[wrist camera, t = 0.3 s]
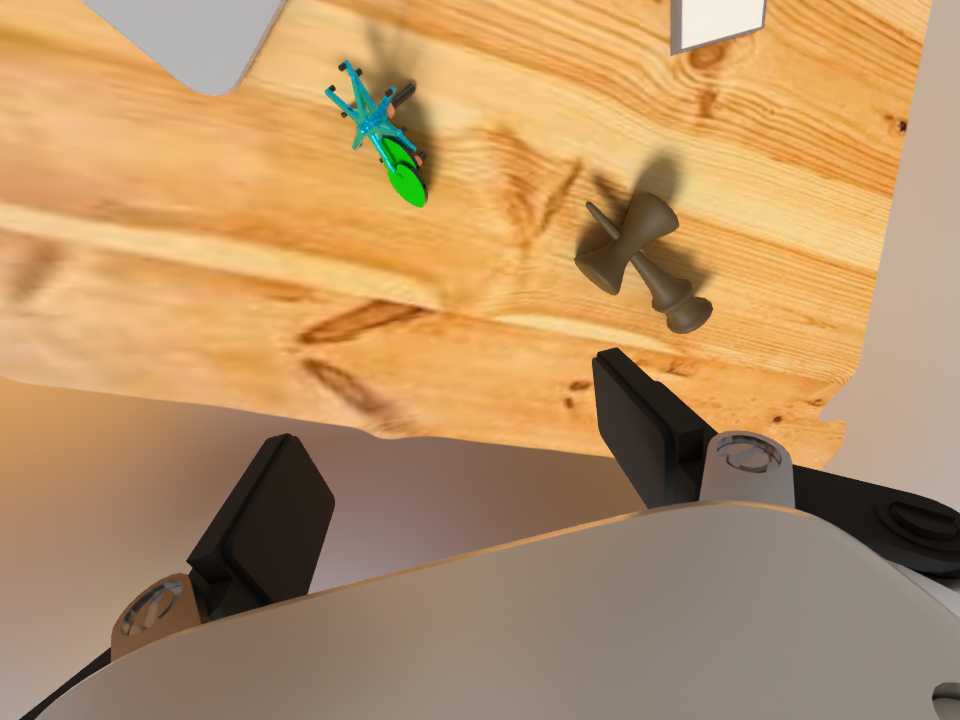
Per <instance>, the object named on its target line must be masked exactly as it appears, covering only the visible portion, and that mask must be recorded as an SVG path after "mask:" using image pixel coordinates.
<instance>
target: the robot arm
mask: <svg viewBox="0 0 960 720" xmlns="http://www.w3.org/2000/svg"><path fill="white" fill-rule="evenodd" d="M592 368H593V378H594V388H595V398H596V408H597V418H598V427H599V431H600V434H601V436H602V438H603V440H604V441H605V443H606V444H607V446H608V448H609V449H610V451H611V452H612V454H613V455H614V457H615V458H616V460H617V461H618V463H619V465H620V466H621V468H622V469H623V471H624V472H625V474H626V475H627V477H628V478H629V480H630V482H631V483H632V485H633V486H634V488H635V489H636V491H637V492H638V494H639V496H640V497H641V499H642V500H643V502H644V503H645V505H646V506H647V508H648V509H647V510H642V511H638V512H634V513H629V514H626V515H621V516H616V517H612V518H608V519H603V520H599V521H595V522H591V523H587V524H582V525H578V526H574V527H570V528H566V529H562V530H558V531H554V532H550V533H546V534H542V535H538V536H534V537H530V538H527V539H522V540H518V541H514V542H510V543H506V544H503V545H498V546H494V547H490V548H486V549H482V550H478V551H474V552H471V553H467V554H463V555H459V556H455V557H451V558H447V559H443V560H440V561H436V562H431V563H428V564H424V565H420V566H416V567H412V568H408V569H404V570H400V571H396V572H393V573H389V574H385V575H381V576H377V577H373V578H370V579H366V580H362V581H358V582H354V583H351V584H347V585H343V586H339V587H335V588H331V589H328V590H324V591H320V592H317V593H312V594H308V595H307V593H308V590H309V587H310V584H311V581H312V578H313V574H314V571H315V568H316V565H317V561H318V558H319V555H320V552H321V549H322V546H323V543H324V539H325V536H326V533H327V529H328V526H329V523H330V520H331V517H332V514H333V511H334V507H335V499H334V496H333V494H332V492H331V491H330V489H329V487H328V486H327V484H326V482H325V481H324V479H323V478H322V476H321V474H320V473H319V471H318V469H317V468H316V466H315V464H314V463H313V461H312V459H311V458H310V457H309V455H308V453H307V451H306V450H305V448H304V446H303V445H302V443H301V442H300V440H299V438H298V437H296V436H292V435H291V434H288V433H286V434H282V435H279V436H274V437H271V438H268V439H267V440H266V441H265V442H264V444H263V445H262V447H261V448H260V450H259V452H258V453H257V454H256V456H255V458H254V459H253V460H252V462H251V463H250V465H249V467H248V468H247V470H246V471H245V473H244V474H243V476H242V477H241V479H240V480H239V482H238V483H237V485H236V486H235V488H234V489H233V491H232V492H231V494H230V496H229V497H228V499H227V500H226V501H225V503H224V504H223V506H222V507H221V509H220V510H219V512H218V514H217V515H216V516H215V518H214V520H213V521H212V523H211V524H210V526H209V527H208V529H207V530H206V532H205V533H204V535H203V536H202V538H201V539H200V541H199V542H198V544H197V545H196V547H195V548H194V550H193V551H192V553H191V554H190V556H189V557H188V559H187V560H186V561H187V563H188V564H190V565H191V566H192V567H193V568H192V570H191V572H190V573H189V575H187V574H183V573H177V574H172V575H169V576H167V577H165V578H162V579H161V580H159V581H157V582H156V583H154V584H153V585H151V586H150V587H148V588H147V589H146V590H144V591H143V592H142V593H141V594H139V595H138V596H137V597H136V598H135V599H134V600H133V601H132V602H131V603H130V604H129V605H128V606H127V608H126V609H125V610H124V611H123V613H122V614H121V615H120V616H119V618H118V620H117V622H116V623H115V625H114V627H113V630H112V635H111V647H110V648H109V649H108V650H106V651H105V652H104V653H103V654H101V655H100V656H99V657H98V658H96V659H95V660H94V661H92V662H91V663H90V664H89V665H87V666H86V667H85V668H84V669H82V670H81V671H80V672H79V673H77V674H76V675H75V676H74V677H72V678H71V679H70V680H69V681H67V682H66V683H65V684H64V685H62V686H61V687H60V688H59V689H57V690H56V691H55V692H53V693H52V694H51V695H50V696H48V697H47V698H46V699H45V700H43V701H42V702H41V703H40V704H38V705H37V706H36V707H34V708H33V709H32V710H31V711H30V712H28V713H27V714H26V715H24V716H23V717H22V718H21V719H19V720H960V513H958V512H957V511H955V510H954V509H952V508H950V507H948V506H946V505H943V504H941V503H939V502H937V501H935V500H932V499H929V498H926V497H923V496H919V495H916V494H912V493H908V492H904V491H900V490H896V489H892V488H888V487H884V486H880V485H876V484H871V483H868V482H863V481H859V480H855V479H851V478H847V477H843V476H839V475H835V474H830V473H826V472H822V471H818V470H814V469H810V468H806V467H802V466H798V465H794V464H792V460H791V457H790V454H789V453H788V452H787V451H786V449H785V448H784V447H783V446H782V445H780V444H779V443H777V442H776V441H774V440H773V439H770V438H768V437H766V436H763V435H761V434H757V433H753V432H749V431H737V430H736V431H726V432H723V433H720V434H718V433H717V432H716V431H715V430H714V429H713V428H712V427H711V426H709V425H708V424H707V423H706V422H705V421H704V420H703V419H702V418H701V417H699V416H698V415H697V414H696V413H695V412H694V411H693V410H692V409H690V408H689V407H688V406H687V405H686V404H685V403H684V402H683V401H681V400H680V399H679V398H678V397H677V396H676V395H675V394H674V393H673V392H671V391H670V390H669V389H668V388H667V387H666V386H665V385H664V384H662V383H661V382H659V381H654V380H652V379H651V378H650V377H649V376H648V375H647V374H646V373H645V372H644V371H643V370H642V369H640V368H639V367H638V366H637V365H636V364H635V363H634V362H633V361H632V360H631V359H630V358H628V357H627V356H626V355H625V354H624V353H623V352H622V351H621V350H620V349H619V348H617V347H616V348H612V349H608V350H604V351H600V352H598V353H597V357H596V358H593V359H592Z"/></svg>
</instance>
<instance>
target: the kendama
mask: <svg viewBox="0 0 960 720" xmlns="http://www.w3.org/2000/svg"><path fill="white" fill-rule="evenodd" d="M586 207H587V208H588V210H589V211H590V212H591V214H592V215H593V216H594V217H595V219H596V220H597V221H598V222H599V223H600V225H601V226H602V227H603V228H604V229H605V231H606V232H607V233H608V234H609V235H610V237H611V238H612V239H611V240H610V241H609V242H608V243H607V244H606V245H605V246H603V247H601V248H599V249H597V250H594V251H591V252H587V253H584V254H581V255H578V256H576V257H575V258H574V261H575V264H576V265H577V267H578V268H579V269H580V270H581V272H582V273H583V274H584V275H585V276H586V277H587V278H589V279H590V280H591V281H592V282H593V283H594V284H596V285H597V286H598V287H599V288H601V289H602V290H604V291H605V292H607V293H609V294H611V295H617V294H618V293H619V291H620V287H621V283H622V278H623V274H624V270H625V267H626V265H627V263H628V262H629V261H631V263H632V264H633V265H634V267H635V268H636V270H637V271H638V273H639V274H640V275H641V277H642V278H643V280H644V282H645V283H646V285H647V286H648V288H649V290H650V292H651V294H652V296H653V300H652V307H653V308H654V309H655V310H656V311H658V312H661V313H665V315H666V316H667V320H666V321H667V326H668V328H669V329H670V330H671V331H672V332H674V333H678V334H686V333H689V332H692V331H694V330H696V329H698V328H699V327H701V326H702V325H703V324H704V323H705V322H706V321H707V320H708V318H709V317H710V316H711V313H712V310H713V307H712V304H711V302H710V301H708V300H707V299H706V298H701V297H694V296H693V294H692V293H691V292H692V285H691V283H690V282H689V281H687V280H685V279H674V278H672V277H671V276H669V275H668V274H667V273H665V272H664V271H663V270H661V269H660V268H659V267H658V266H656V265H655V264H654V263H653V262H652V261H650V260H649V259H648V258H647V257H646V256H645V255H644V254H643V253H642V252H641V251H639V250H640V249H641V248H642V247H643V246H644V245H645V244H646V243H648V242H650V241H652V240H654V239H657V238H659V237H662V236H664V235H667V234H669V233H672V232H673V231H675V230H676V229H677V228H678V227H679V222H678V219H677V216H676V215H675V213H674V211H673V210H672V209H671V208H670V207H669V206H668V205H667V204H666V203H665V202H664V201H663V200H661V199H660V198H659V197H657V196H655V195H653V194H651V193H647V192H637V193H635V194H634V196H633V198H632V200H631V202H630V205H629V209H628V212H627V215H626V218H625V221H624V223H623V225H622V227H621V228H620V230H618V229H617V228H616V227H615V226H614V225H613V223H612V222H611V221H610V220H609V219H608V218H607V217H606V216H605V215H604V214H603V213H602V212H601V211H600V210H599V209H598V208H597V207H596V206H595V205H593V204H592V203H591V202H586Z"/></svg>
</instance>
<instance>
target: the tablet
mask: <svg viewBox="0 0 960 720" xmlns="http://www.w3.org/2000/svg"><path fill="white" fill-rule="evenodd" d="M81 1H82V2H83V3H85V4H86V5H87V6H88V7H90V8H91V9H92V10H93V11H94V12H96V13H97V14H98V15H99V16H101V17H102V18H103V19H104V20H105V21H107V22H108V23H109V24H110V25H111V26H113V27H114V28H115V29H116V30H118V31H119V32H120V33H121V34H122V35H124V36H125V37H126V38H127V39H128V40H130V41H131V42H132V43H133V44H135V45H136V46H137V47H138V48H139V49H141V50H142V51H143V52H144V53H146V54H147V55H148V56H149V57H150V58H152V59H153V60H154V61H155V62H156V63H158V64H159V65H160V66H161V67H163V68H164V69H165V70H166V71H167V72H169V73H170V74H171V75H172V76H173V77H175V78H176V79H177V80H178V81H180V82H181V83H182V84H184V85H185V86H187V87H189V88H191V89H192V90H195V91H197V92H200V93H203V94H206V95H210V96H221V95H226V94H229V93H230V92H232V91H234V90H235V89H236V88H237V87H238V86H239V85H240V83H241V82H242V80H243V78H244V77H245V75H246V73H247V71H248V69H249V68H250V66H251V64H252V62H253V60H254V59H255V57H256V55H257V53H258V51H259V49H260V48H261V46H262V44H263V42H264V40H265V39H266V37H267V35H268V33H269V31H270V30H271V28H272V26H273V24H274V22H275V20H276V19H277V17H278V15H279V13H280V11H281V10H282V8H283V6H284V4H285V2H286V1H287V0H81Z"/></svg>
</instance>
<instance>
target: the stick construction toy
mask: <svg viewBox="0 0 960 720" xmlns="http://www.w3.org/2000/svg"><path fill="white" fill-rule="evenodd" d="M338 68H339V70H340V71H343V70H345V69H346V70H347V72H348V74H349V75H350V77H351V81H352V85H353V90H354V94H355V99H356V103H357V108H358V109H352V108H351V107H350V106H348V105H347V104H346V103H345V102H344V101H343V100H341V99H340V98H339V97H338V96H337V95H335V94H334V93H333V92H334V91H335V90H336V88H335V86H334V85H331V86H330V87H329V88H327V89H326V90H325V94H326V95H327V96H328V97H329V98H330V99H331V100H332V101H334V102H335V103H336V104H337V105H338V106H339V107H340V108H341V109H342V110H343V111H344V112H342V113H341V116H342V117H343V118H345V117H346V116H347V115H348V116H350V117H351V118H352V119H353V120H354V121H355V122H356V123H357V124H358V126H357V132H358V133H357V136H356V139H355V141H354V144H353V146H352V148H353V150H356V149H358V148H359V147H360V146H361V145H362V142H363V140H364V139H365V137H366V136H368V137H369V139H370V140H371V142H372V143H373V145H374V146H375V148H376V149H377V151H378V152H379V154H380V155H381V158H380V162H381V163H383V162H384V164H385V166H386V168H387V169H388V176H389V179H390V181H391V183H392V185H393V187H394V188H395V189H396V191H397V192H398V193H399V194H400V195H401V196H402V197H403V198H404V199H405V200H406V201H408V202H409V203H411V204H412V205H414V206H417V207H420V208H422V207H423V206H424V205H425V204H426V202H427V199H428V193H427V189H426V186H425V183H424V181H423V180H422V178H421V170H420V166H421V165H422V161H423V160H424V159H425V158H426V154H425V153H424V152H421V153H420V154H419V155H418V156H417V155H415V156H413V153H414V152H415V151H416V150H417V149H416V147H415V146H414V145H413V144H412V143H411V142H410V141H409V140H408V139H407V138H406V137H405V136H404V135H402V134H403V133H404V132H405V131H406V127H405V126H402V127H401V128H400V129H396V128H395V127H394V126H393V125H392V124H391V123H390V122H389V120H390V119H391V118H392V117H393V116H394V115H395V109H396V108H397V107H398V106H399V105H401V104H402V103H403V102H404V101H405V100H407V99H408V98H409V97H410V96H411V95H412V94H414V93H415V87H414V86H413V85H412V84H411V83H409V84H408V85H407V86H405V87H404V88H403V89H402V90H401V91H399V92H398V93H397V94H396V95H395V96H394V94H395V92H396V88H395V87H394V86H392V87H391V88H389V89H388V90H387V91H386V92H385V96H384V98H383V99H382V100H381V101H380V102H379V103H378V104H377V105H375V104H374V102H373V100H372V99H371V97H370V96H369V94H368V92H367V91H366V89H365V87H364V86H363V84H362V82H361V81H360V79H359V78H358V77H359V76H360V75H362V70H361V69H360V68H358V69H357V70H356V71H354V69H353V68H352V66H351V65H350V63H349V61H347V60H346V61H344V62H343V63H342V64H340V65H339V66H338ZM364 102H365V103H366V105H367V107H368V109H369V110H366V107H365V103H364ZM375 133H377V134H378V137H379V139H378V138H377V136H376V134H375ZM385 135H391V136H394V137H395V138H397V139H398V140H399V141H398V140H397V139H395V138H393V137H390V136H385Z"/></svg>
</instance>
